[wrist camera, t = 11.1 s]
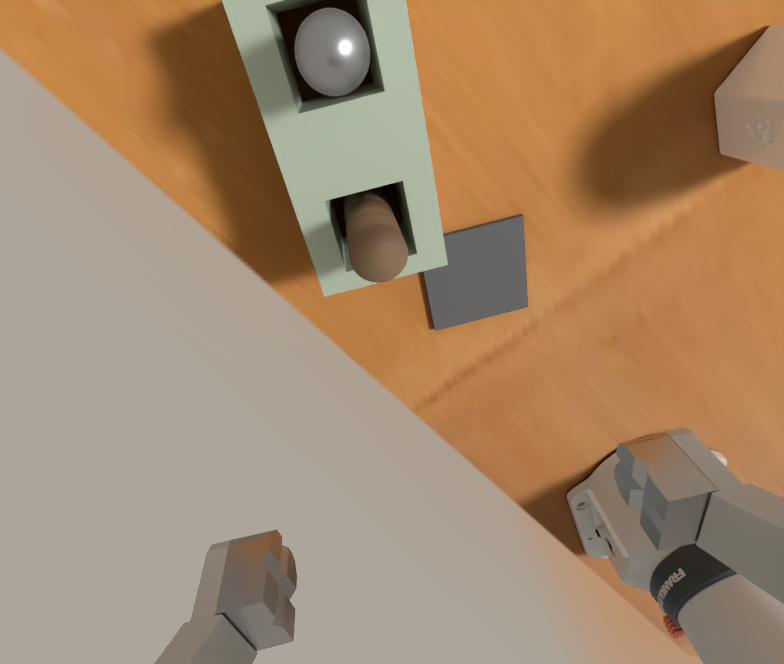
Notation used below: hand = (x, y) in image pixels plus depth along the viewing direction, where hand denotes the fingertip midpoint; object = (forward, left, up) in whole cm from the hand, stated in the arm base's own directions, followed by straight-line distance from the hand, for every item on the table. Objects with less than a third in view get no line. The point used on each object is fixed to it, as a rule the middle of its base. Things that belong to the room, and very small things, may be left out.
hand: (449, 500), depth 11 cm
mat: (-8, -7, -25) cm, 27 cm away
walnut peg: (0, 0, -25) cm, 25 cm away
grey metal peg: (+9, 0, -25) cm, 26 cm away
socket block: (+5, 0, -25) cm, 25 cm away
